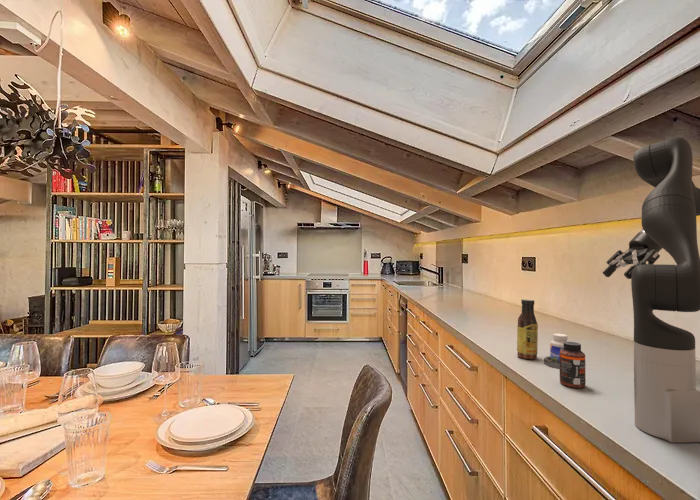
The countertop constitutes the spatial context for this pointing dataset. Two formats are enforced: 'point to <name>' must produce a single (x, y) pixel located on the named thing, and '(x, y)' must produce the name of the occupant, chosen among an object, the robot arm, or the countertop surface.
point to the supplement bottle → (572, 365)
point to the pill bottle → (557, 346)
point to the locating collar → (551, 362)
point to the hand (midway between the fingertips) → (615, 276)
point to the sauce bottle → (527, 331)
